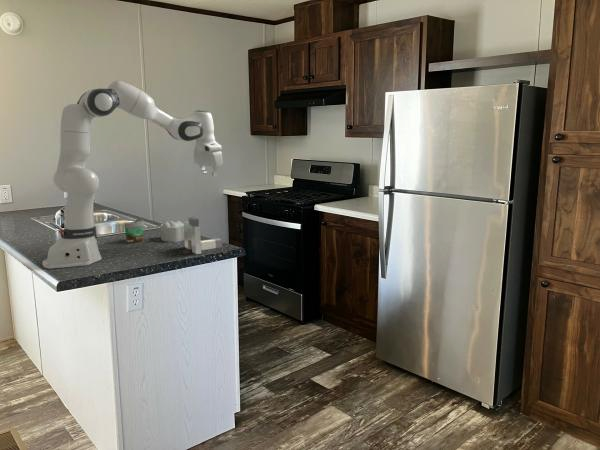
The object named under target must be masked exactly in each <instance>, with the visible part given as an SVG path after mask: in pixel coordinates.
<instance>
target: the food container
mask: <svg viewBox="0 0 600 450" xmlns="http://www.w3.org/2000/svg"><path fill="white" fill-rule="evenodd" d="M144 225H145V223H144V220H143V219H142V218H141V219H140V218H136V220H135V221H130V222H129V223H127V222H126V223H124V225H123V228H124V230H125V238H126V239H125V240H126V244H137V243H141V242H143V241H144V240H143V239H144V238H143V233H144V232H143V231H144V228H143V226H144Z"/></svg>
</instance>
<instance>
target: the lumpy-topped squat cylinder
mask: <svg viewBox="0 0 600 450" xmlns="http://www.w3.org/2000/svg"><path fill="white" fill-rule="evenodd" d="M160 240H161V241H163V242H168V243H177V242H181V241H185V240H184V222H181V221H180V220H176V221H172V220H169V221H164V222H162V224H160Z"/></svg>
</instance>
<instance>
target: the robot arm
mask: <svg viewBox="0 0 600 450" xmlns="http://www.w3.org/2000/svg"><path fill="white" fill-rule="evenodd" d="M155 104H156V103H155V100H154V99H153V98H152V97H151V96H150V95H149V94H148V93H146V92H144V91H143V90H141V89H139V88H138V87H136V86H134V85H133V84H130V83H127V82H124V81H122V80H114V81H112V82H111V83H110V84H109V85H108V87H107V88H92V89H90V90H88V91H86V92H84V93H83V94H82V95H81V96H80V98H79V99H78V101H77V103H70V104H68V105H65V106H64V107H63V109H62V113H61V120H60V152H59V157H58V162H57V168H56V171H55V173H54V174H53V182H54V185H55V186H56V188H58V190H60V191H61V192H64V193H66V194H67V195H66V196H67V197H66V204H65V207H64V209H63V214H64V215H63V216H64V224H65V228H58V233H59V234H60V237H61V238H59V239H58V240H57V241H56V242H55V243H54V244H52V245H51V246H50V247H49V249H48V252H47V258H46V259H44V260H42V267H43V268H45V269H61V268H71V267H80V266H84V267H85V266H89V265H91V264H93V263H96V262H99V261H101V260H102V258H103V257H102V255H101V253H100V251H99V250H100V249H99V245H98V241H97V239H98V233H97V227H96V225H95V216H94V215H95V213H94V202H95V196H96V191H97V190H98V188H99V186H100V180H99V177H98V175H97V174H96V173H95V172H93V170H90V169H88V168H87V167H86V165H87V161H88V158H89V156H90V154H91V124H92V120H93V119H94V118H102V117H107V116H109V115H110V114H112V113H113V112H114V111H115V110H116V109H120V110H123V111H124V112H126V113H128V114H129V115H132V116H134V117H137V118H139V119H143V120H147V121H151V122H152V123H154V124H156V125H158V126H159V127H162V128H163V129H165V130H166V132H167V133H168V134H169V135H170V137H171V138H173V139H175V140H179V141H184V142H192V141H193V140H195V146H194V149H193V161H194V163H195V164H196V165H198V166H199V168H200V170H201V174H204V175H206V174H207V169H206V167H210V168H212V172H211V176H212V177H218V169H219V168H222V167H223V164H224V162H223V154H222V153H223V152H222V149H223V146H222V145H221V144H220V143H219V142H218V141H216V137H215V134H214V132H215V131H214V130H215V125H214V118H213V116H212V113H211V112H209V111H208V110H207V111H206V110H200V109H199V110H197V109H196V110H194V112H193V113H192V114H191V115H189V116H188V117H186V118H182V117H175V116H174V117H173V116H171V115H169V114H167V113H166V112H164V111H162V110H161V109H159V108H158V107H157V106H156V105H155Z"/></svg>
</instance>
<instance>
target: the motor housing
mask: <svg viewBox="0 0 600 450" xmlns="http://www.w3.org/2000/svg"><path fill="white" fill-rule="evenodd" d="M183 224H184V240H183V241H184V248H185V249H187V250H191V251H192V253H193V254H195V255H199V254H202V250H201V241H202V240H201V238H202V237H201V226H200V222H199V218H197V217H195V216H192V217H188V221H187V220H186V221H183Z"/></svg>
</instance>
